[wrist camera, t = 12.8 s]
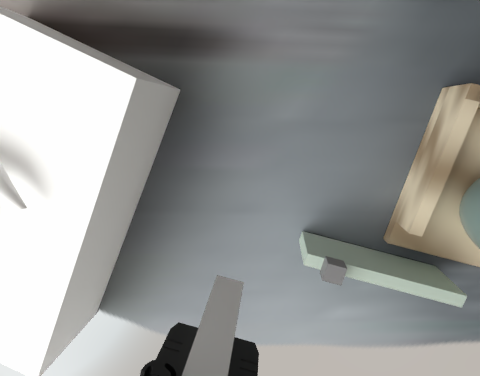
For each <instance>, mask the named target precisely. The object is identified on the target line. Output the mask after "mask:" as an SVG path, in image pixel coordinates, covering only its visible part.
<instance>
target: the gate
mask: <svg viewBox="0 0 480 376" xmlns="http://www.w3.org/2000/svg"><path fill="white" fill-rule="evenodd" d="M299 243H300V248H301V253H302V258H303V263H304V265H305V266H309V267H312V268H316V269H320V274H321V278H322V281H326V282H330V283H333V284H337V285H342V282H343V279H344V277H345V276H346V277H350V278H353V279H357V280H361V281H364V282H368V283H372V284H376V285H379V286H383V287H387V288H391V289H394V290H398V291H402V292H406V293H409V294H413V295H417V296H420V297H424V298H428V299H432V300H435V301H439V302H443V303H447V304H450V305H454V306H458V307H461V308H462V306H463V304H464V302H465V300H466V298H467V295H466V294H465V293H463V292H462V291H461V290H460V289H459V288H458V287H457V286H456V285H455V284H454V283H453V282H452V281H451V280H450V279H449V278H448V277H446V276H445V275H444V274H443V273H442V272H441V271H440V270H439V269H438V268H437V267H436V266H433V265H429V264H426V263H422V262H418V261H414V260H410V259H407V258H403V257H399V256H395V255H391V254H387V253H384V252H380V251H376V250H372V249H368V248H365V247H361V246H357V245H353V244H349V243H346V242H342V241H338V240H334V239H330V238H326V237H323V236H319V235H315V234H311V233H307V232H304V231H302V234H301V237H300V240H299Z"/></svg>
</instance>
